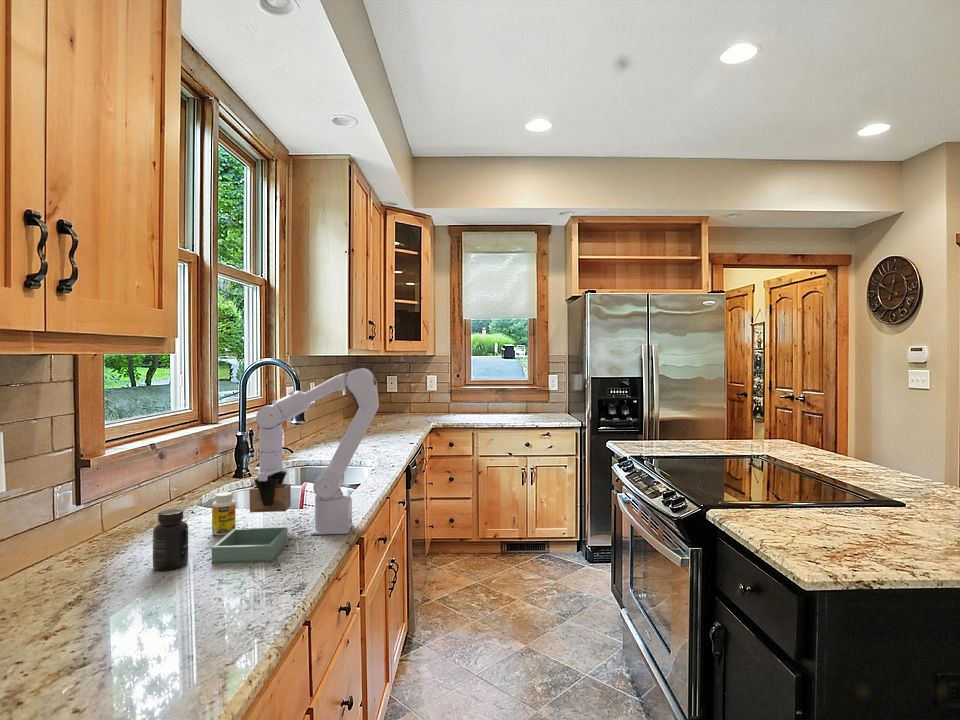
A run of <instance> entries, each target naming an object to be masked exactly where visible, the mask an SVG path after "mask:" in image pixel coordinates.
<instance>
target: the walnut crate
mask: <svg viewBox="0 0 960 720" xmlns="http://www.w3.org/2000/svg"><path fill="white" fill-rule="evenodd" d="M291 485H292V484H291V483H282V484H277V485H276V488H275V492H274V500H273V504H272V506H264V505H263V502H262V498H261V494H260V491H259V489H258V487H257V485H256V484H255V485H253V486H252V487H251V488H249V513H275V512H277V513H278V512H280V513H281V512H283V513H284V512H287V511H288V509H290V507H291V506H292V503H291V502H292V497H291V496H292V494H291V493H292V491H291V490H292V489H291V488H292V487H291Z"/></svg>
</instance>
